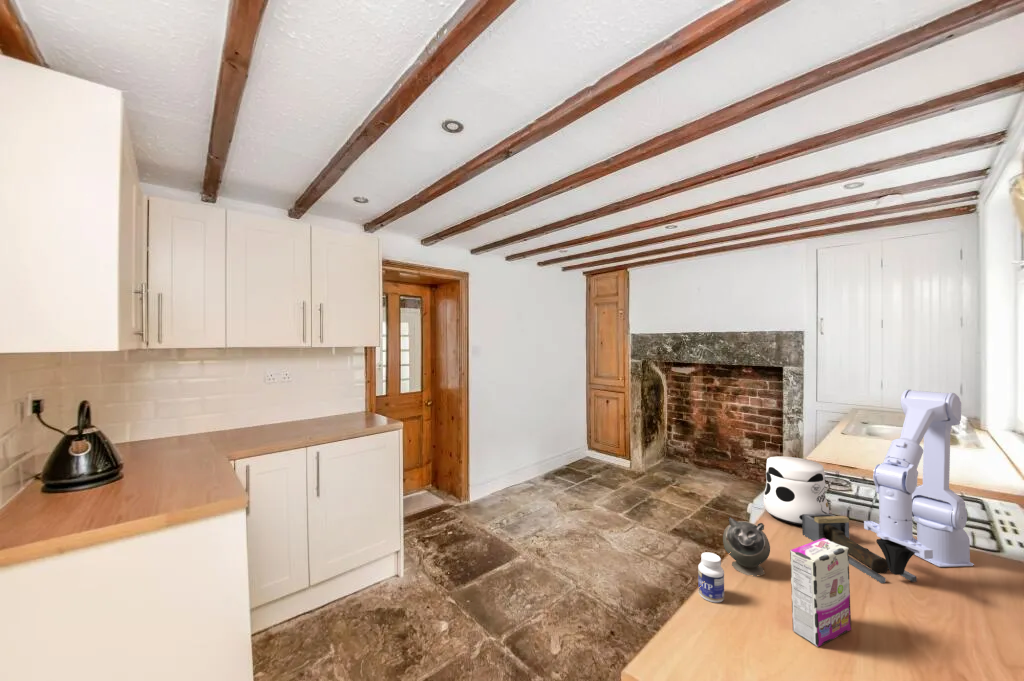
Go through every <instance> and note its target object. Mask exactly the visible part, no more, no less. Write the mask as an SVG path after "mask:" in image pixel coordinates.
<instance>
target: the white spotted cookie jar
mask: <svg viewBox="0 0 1024 681" xmlns="http://www.w3.org/2000/svg"><path fill="white" fill-rule="evenodd" d="M765 466H766V467H765V468H766V471H765V478H766V481H765V482H766V483H765V489H764V492H763V496H762V497H763V500H762V501H763V506H764V508H765V511H766V512H767V513H768V514H769V515H770V516H772V517H774V518H775V519H777V520H779V521H782V522H786V523H789V524H792V525H798V526H802V514H828V513H830V507H829V503H828V500H827V497H826V480H825V478H826V473H825V468H824V465H823V464H822V463H819V462H816V461H813V460H810V459H806V458H800V457H796V456H795V457H794V456H793V457H792V456H783V455H781V456H778V455H776V456H769V457H768V458H767V459H766V464H765Z"/></svg>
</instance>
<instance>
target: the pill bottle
mask: <svg viewBox="0 0 1024 681" xmlns="http://www.w3.org/2000/svg"><path fill="white" fill-rule="evenodd" d="M700 558H701V559H700V562H699V564H698V565H697V566H698V569H697V572H698V573H697V574H698V575H697V577H698V580H697V583H698V584H697V585H698V586H697V587H698V588H699V587H700V586H701V587H700V588H699V590H698V594H699V596H700V597H701V598H702V599H704V600H705V601H707V602H711V603H721V602H723V601H724V600H725V571H724V569H723V567H722V566H721V565H722V558H721V557H720V556H719V555H717V553H713V552H706V551H705V552H702V553H701V556H700ZM704 581H705V582H704ZM703 582H704V583H703ZM702 583H703V584H702ZM698 588H697V589H698Z"/></svg>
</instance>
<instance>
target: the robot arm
mask: <svg viewBox="0 0 1024 681" xmlns="http://www.w3.org/2000/svg"><path fill="white" fill-rule="evenodd" d="M900 406H901V409H902V411H903V415H904V416H905V417H904V421H903V425H902V428H901V433H900V437H898V438H895V439H892V440H891V442H890V445H889V447H888V449H887V452H886V454H885V457H884V460H883V462H882V463H881V464H880V463H878V464H876V465H875V467H874V469H873V475H872V480H873V483H874V485H875V491H876V494H877V495H878V511H879V513H878V515H879V516H878V517H879V518H878V519H879V523H877V522H875V521H872V520H863V528H864V530H866V531H871V532H873V533H875V534H876V537H878V539H876V544H877V545H878V546H879V548H880V549H881V552H882V554H883V555H884V559H886V561H887V564H888V568H889V569H888V570H889V573H891V574H893V575H895V576H901V575H903V573H904V570H905V571H906V567H907V564H908V563H909V561H910V560H911V558H912V557H913V556H914V555H915V556H917V557H918V558H921V559H922V560H924V561H927V562H929V563H930V564H932V565H934V566H936V567H939V568H949V567H950V568H952V567H954V568H955V567H974V566H975V564H974V563H973V562H971V554H970V553H971V548H970V546H971V545H970V543H971V542H970V537H969V535H968V533H967V532H966V530H965V527H966V525H967V521H968V512H967V510H966V502H965V499H963V497H961V496H960V495H959V494H957V493H955V492H954V491H953V490H951V488H950V468H951V467H950V465H951V464H950V463H951V458H950V457H951V455H950V454H951V432H952V427H953V426H957V425H960V424H961V420H962V402H961V399H960V397H959V395H958V394H957V393H955V392H941V391H940V392H939V391H924V390H912V389H908V388H907V389H906V390H904V391H903V392H902V393H901V395H900ZM922 440H923V447H922V445H920V444H921V442H922ZM922 456H923V458H922ZM921 459H923V460H922V463H923V464H922V484H921V485H918V477H919V471H918V470H917V469H918V466H919V465H920V462H921ZM913 521H914V522H916V538H915V537H914V536H913V534H914V533H913V532H914V531H913ZM973 565H974V566H973Z"/></svg>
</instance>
